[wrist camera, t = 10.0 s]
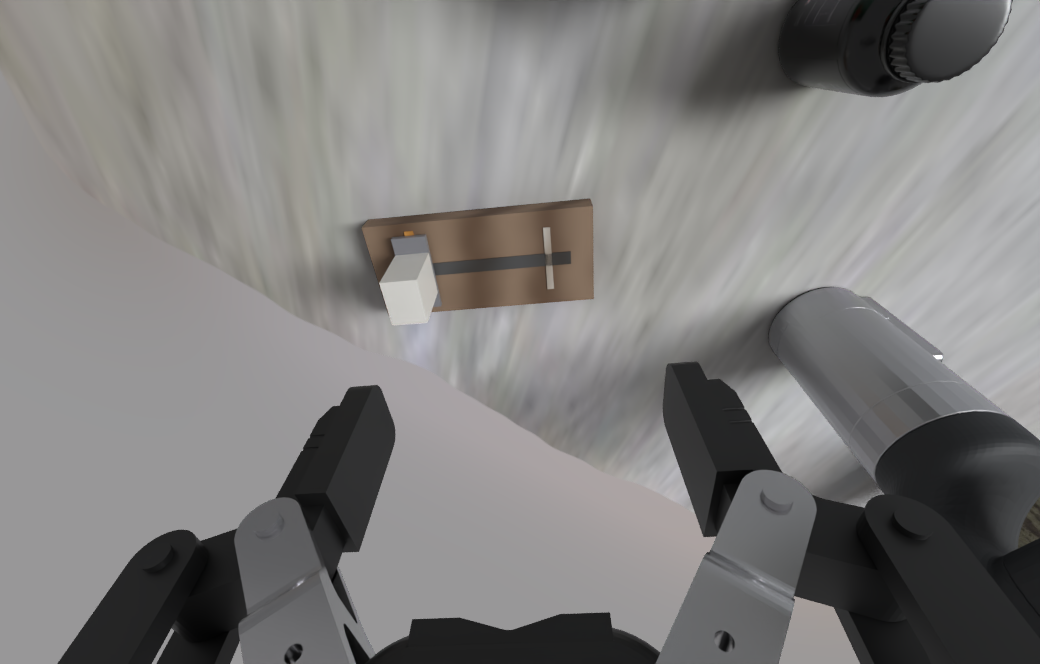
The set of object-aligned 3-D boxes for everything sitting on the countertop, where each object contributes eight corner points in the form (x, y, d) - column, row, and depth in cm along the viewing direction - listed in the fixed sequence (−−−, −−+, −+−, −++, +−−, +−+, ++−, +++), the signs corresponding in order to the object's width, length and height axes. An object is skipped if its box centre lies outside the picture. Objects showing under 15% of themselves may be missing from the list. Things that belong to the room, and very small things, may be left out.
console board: (589, 198, 39) (592, 206, 37) (591, 288, 44) (593, 299, 42) (368, 219, 40) (361, 228, 39) (393, 305, 45) (388, 316, 44)
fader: (426, 234, 39) (412, 262, 34) (441, 303, 43) (431, 337, 38) (392, 237, 39) (373, 265, 34) (411, 306, 43) (396, 340, 38)
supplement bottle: (893, 25, 32) (1061, 22, 22) (806, 106, 35) (918, 135, 25) (845, -56, 30) (1009, -101, 20) (755, 38, 32) (857, 40, 22)
